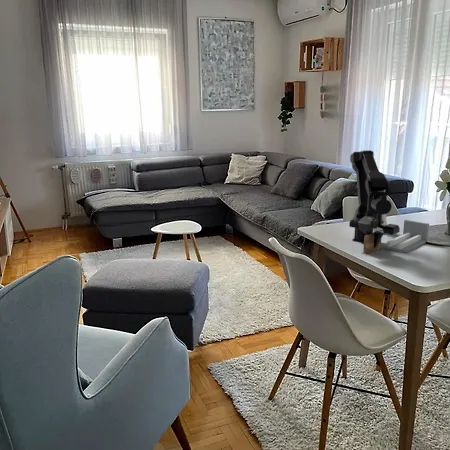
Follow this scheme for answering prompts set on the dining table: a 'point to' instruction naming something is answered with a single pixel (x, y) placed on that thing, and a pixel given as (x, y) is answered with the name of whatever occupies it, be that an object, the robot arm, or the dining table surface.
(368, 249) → the door panel
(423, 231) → the track board
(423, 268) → the dining table surface
